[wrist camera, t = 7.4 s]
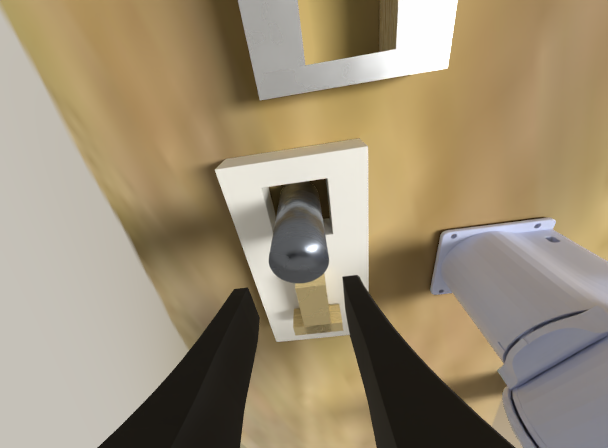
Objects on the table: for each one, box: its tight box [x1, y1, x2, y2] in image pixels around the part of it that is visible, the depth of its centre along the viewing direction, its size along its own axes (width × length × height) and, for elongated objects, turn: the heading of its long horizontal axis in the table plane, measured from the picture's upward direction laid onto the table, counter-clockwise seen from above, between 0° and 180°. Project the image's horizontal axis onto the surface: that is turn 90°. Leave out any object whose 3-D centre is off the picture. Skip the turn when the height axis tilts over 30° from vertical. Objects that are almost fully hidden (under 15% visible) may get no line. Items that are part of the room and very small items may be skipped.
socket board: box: [215, 138, 369, 342], centre depth 21 cm, size 10×20×2 cm, turn 9°
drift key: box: [293, 274, 343, 336], centre depth 20 cm, size 4×6×2 cm
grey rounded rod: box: [269, 181, 329, 284], centre depth 16 cm, size 3×3×8 cm
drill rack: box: [238, 0, 457, 100], centre depth 12 cm, size 10×7×3 cm
